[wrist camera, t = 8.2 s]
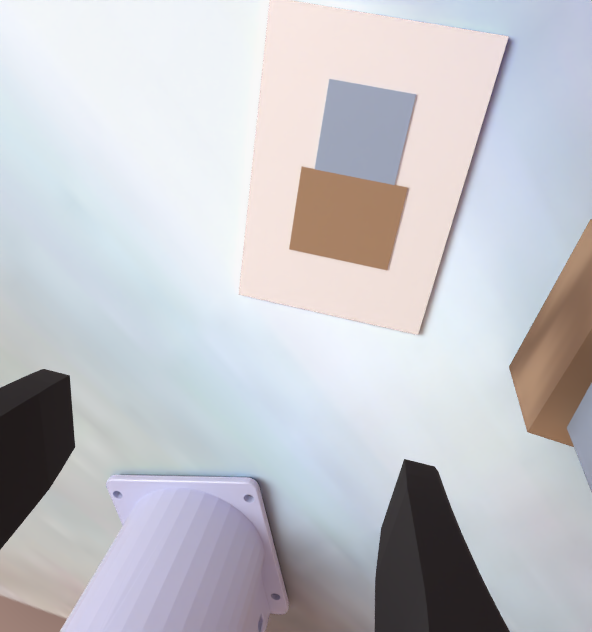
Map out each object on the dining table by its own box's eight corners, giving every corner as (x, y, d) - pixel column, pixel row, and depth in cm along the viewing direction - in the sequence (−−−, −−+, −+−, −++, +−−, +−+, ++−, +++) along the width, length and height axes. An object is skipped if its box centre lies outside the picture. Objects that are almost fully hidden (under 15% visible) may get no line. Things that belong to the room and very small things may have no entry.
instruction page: (417, 332, 20) (418, 335, 20) (239, 292, 21) (238, 295, 21) (507, 36, 15) (509, 36, 15) (271, -3, 16) (269, -3, 16)
